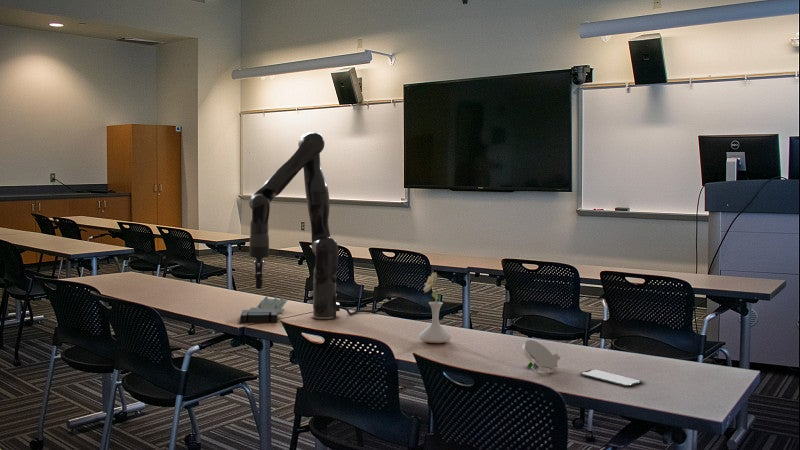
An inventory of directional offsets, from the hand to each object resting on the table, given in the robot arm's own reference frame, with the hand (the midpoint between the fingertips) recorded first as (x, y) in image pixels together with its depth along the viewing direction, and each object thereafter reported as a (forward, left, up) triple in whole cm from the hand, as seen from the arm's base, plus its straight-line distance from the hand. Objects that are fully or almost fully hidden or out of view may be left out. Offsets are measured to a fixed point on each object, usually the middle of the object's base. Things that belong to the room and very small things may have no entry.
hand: (259, 287), depth 281 cm
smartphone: (-103, +94, -14) cm, 140 cm away
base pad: (0, -3, -14) cm, 14 cm away
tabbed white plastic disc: (-86, +82, -14) cm, 120 cm away
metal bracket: (-4, -24, -14) cm, 28 cm away
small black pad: (0, 0, -14) cm, 14 cm away
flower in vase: (-62, +43, -14) cm, 77 cm away
